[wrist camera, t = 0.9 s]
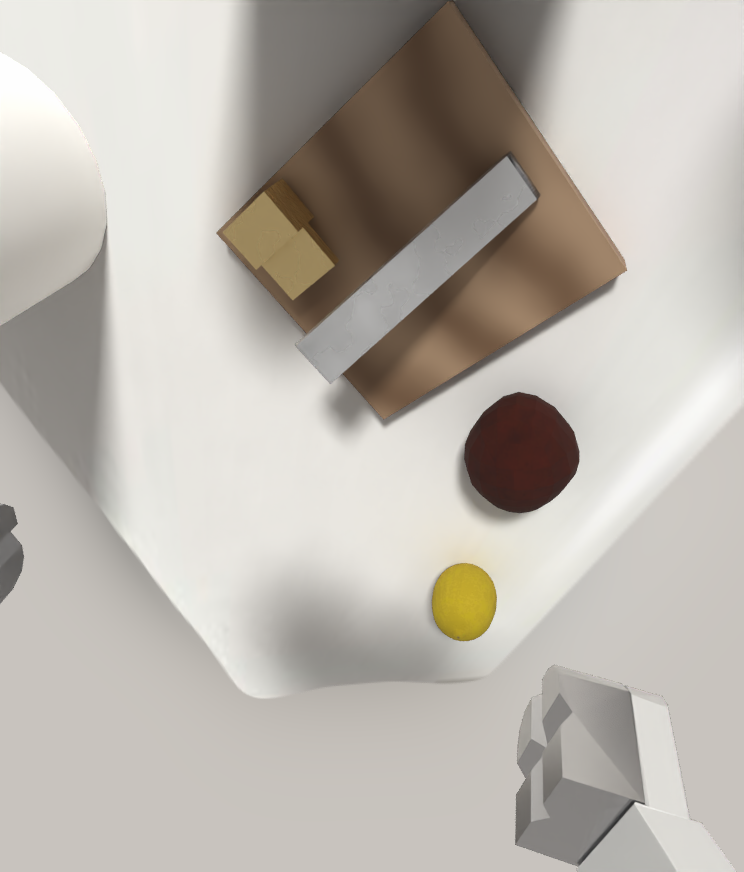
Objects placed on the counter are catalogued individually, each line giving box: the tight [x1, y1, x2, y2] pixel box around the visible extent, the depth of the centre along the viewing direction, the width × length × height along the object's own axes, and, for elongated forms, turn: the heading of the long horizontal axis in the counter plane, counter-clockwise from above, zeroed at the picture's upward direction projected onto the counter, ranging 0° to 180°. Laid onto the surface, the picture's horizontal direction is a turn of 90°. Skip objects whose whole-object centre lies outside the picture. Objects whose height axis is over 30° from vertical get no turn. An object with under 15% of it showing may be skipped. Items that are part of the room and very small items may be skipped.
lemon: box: [432, 563, 497, 641], centre depth 56 cm, size 6×6×8 cm
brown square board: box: [217, 1, 627, 419], centre depth 42 cm, size 20×18×2 cm
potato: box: [464, 392, 579, 513], centre depth 46 cm, size 8×9×8 cm
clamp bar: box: [295, 151, 541, 384], centre depth 38 cm, size 16×3×1 cm, turn 131°
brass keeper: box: [223, 179, 339, 300], centre depth 41 cm, size 4×6×3 cm, turn 41°
